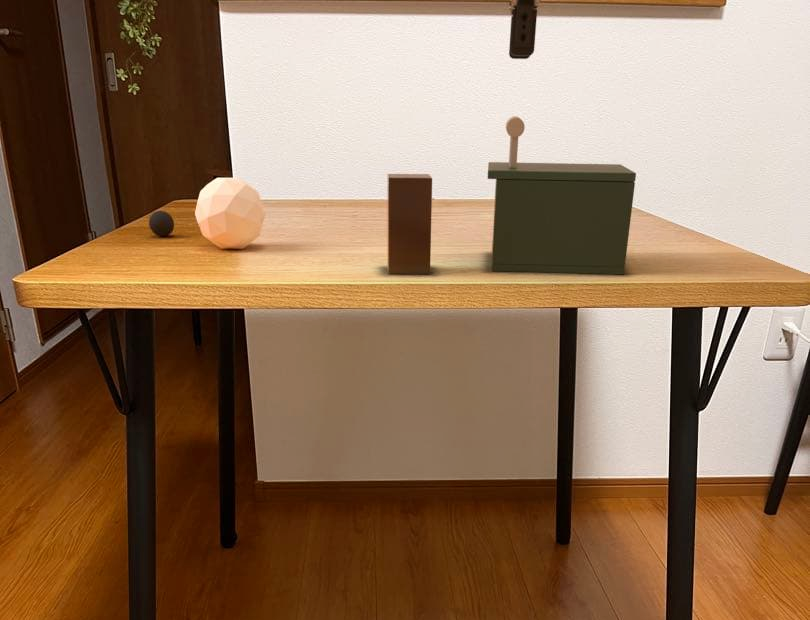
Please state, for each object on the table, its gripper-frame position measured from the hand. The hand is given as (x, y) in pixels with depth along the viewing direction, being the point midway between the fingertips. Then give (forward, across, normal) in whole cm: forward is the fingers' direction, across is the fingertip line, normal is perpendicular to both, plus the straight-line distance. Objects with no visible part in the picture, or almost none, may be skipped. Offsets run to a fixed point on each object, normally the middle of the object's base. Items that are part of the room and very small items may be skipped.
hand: (520, 57), depth 86 cm
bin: (+19, 0, -5) cm, 20 cm away
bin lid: (+11, 0, -5) cm, 12 cm away
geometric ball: (+20, +4, +32) cm, 38 cm away
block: (+20, -7, +10) cm, 23 cm away
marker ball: (+20, +12, +42) cm, 48 cm away
